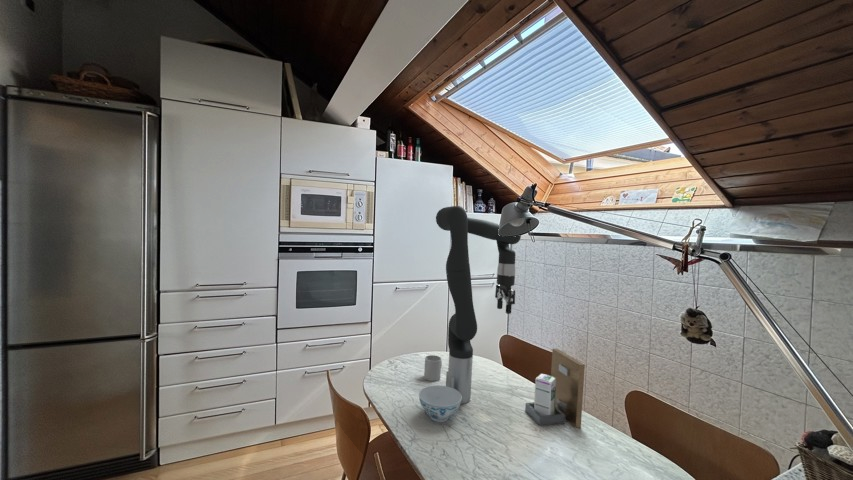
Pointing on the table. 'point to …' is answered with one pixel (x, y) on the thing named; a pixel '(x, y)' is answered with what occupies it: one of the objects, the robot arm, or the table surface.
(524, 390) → the table surface
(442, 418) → the chinaware
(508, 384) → the table surface
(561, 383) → the wooden board with tray
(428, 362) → the cup
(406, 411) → the table surface
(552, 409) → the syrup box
